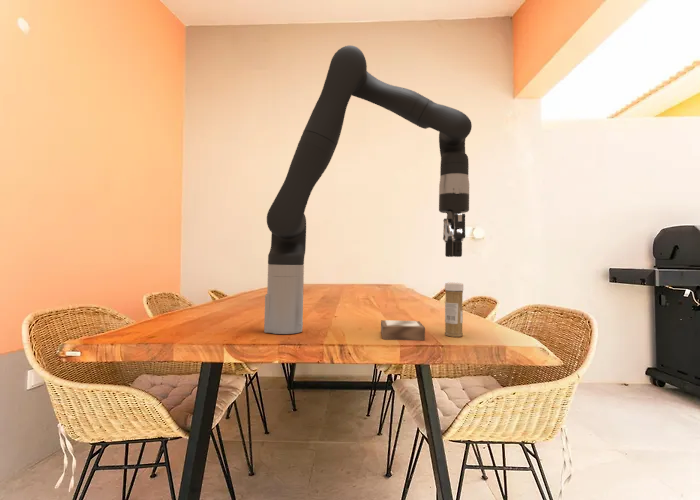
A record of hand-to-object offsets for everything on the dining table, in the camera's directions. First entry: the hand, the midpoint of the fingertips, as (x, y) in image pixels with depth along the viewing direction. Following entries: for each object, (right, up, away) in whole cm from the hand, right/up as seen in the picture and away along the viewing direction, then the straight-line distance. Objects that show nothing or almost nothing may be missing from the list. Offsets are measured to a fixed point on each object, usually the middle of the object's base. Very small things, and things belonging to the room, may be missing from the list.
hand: (453, 256), depth 105 cm
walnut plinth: (-13, -20, -2) cm, 24 cm away
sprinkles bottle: (0, -20, 0) cm, 20 cm away
